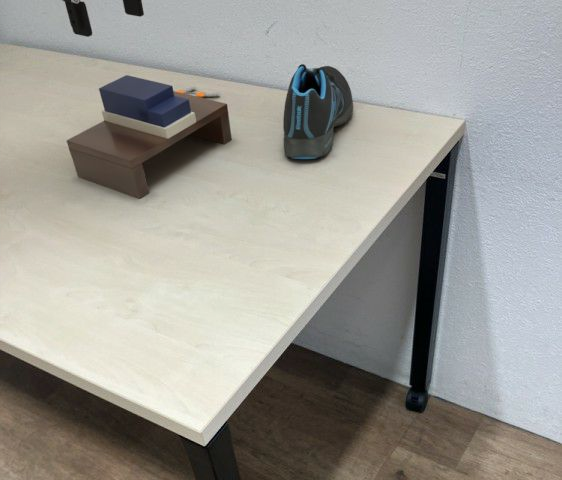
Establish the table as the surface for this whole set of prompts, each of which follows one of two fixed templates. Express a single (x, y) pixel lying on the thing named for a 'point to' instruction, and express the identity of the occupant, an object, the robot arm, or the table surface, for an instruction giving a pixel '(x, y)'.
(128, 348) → the table surface
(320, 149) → the running shoe
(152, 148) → the shoe shelf
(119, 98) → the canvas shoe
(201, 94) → the key chain
